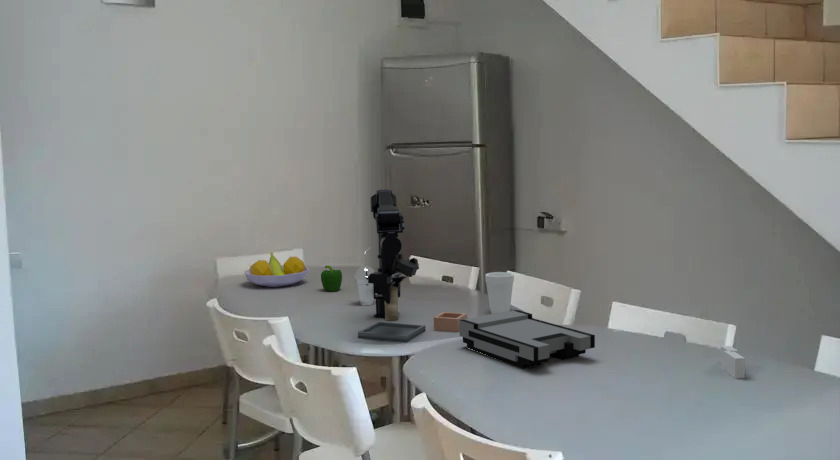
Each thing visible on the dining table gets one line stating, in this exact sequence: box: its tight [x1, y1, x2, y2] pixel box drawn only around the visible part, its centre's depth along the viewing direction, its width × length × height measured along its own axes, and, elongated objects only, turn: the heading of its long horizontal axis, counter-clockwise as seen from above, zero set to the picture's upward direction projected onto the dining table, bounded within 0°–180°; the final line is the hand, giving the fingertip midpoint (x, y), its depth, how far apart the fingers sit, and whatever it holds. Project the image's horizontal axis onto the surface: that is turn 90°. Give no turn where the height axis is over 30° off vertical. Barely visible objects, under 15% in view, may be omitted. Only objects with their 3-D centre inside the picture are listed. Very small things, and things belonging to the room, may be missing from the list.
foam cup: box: [484, 271, 515, 315], centre depth 270 cm, size 10×9×13 cm
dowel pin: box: [384, 286, 399, 323], centre depth 243 cm, size 4×4×10 cm
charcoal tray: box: [357, 321, 426, 343], centre depth 244 cm, size 16×14×2 cm
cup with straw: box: [353, 246, 375, 306], centre depth 289 cm, size 8×9×20 cm
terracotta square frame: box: [433, 311, 468, 333], centre depth 250 cm, size 8×8×4 cm
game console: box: [459, 309, 596, 370], centre depth 219 cm, size 21×32×8 cm, turn 32°
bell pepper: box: [320, 265, 343, 292], centre depth 317 cm, size 8×8×10 cm
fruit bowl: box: [244, 252, 310, 288], centre depth 335 cm, size 28×27×11 cm
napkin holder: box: [720, 345, 746, 379], centre depth 199 cm, size 15×11×6 cm
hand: (391, 302), depth 243 cm, fingers closed on dowel pin, 4 cm apart
